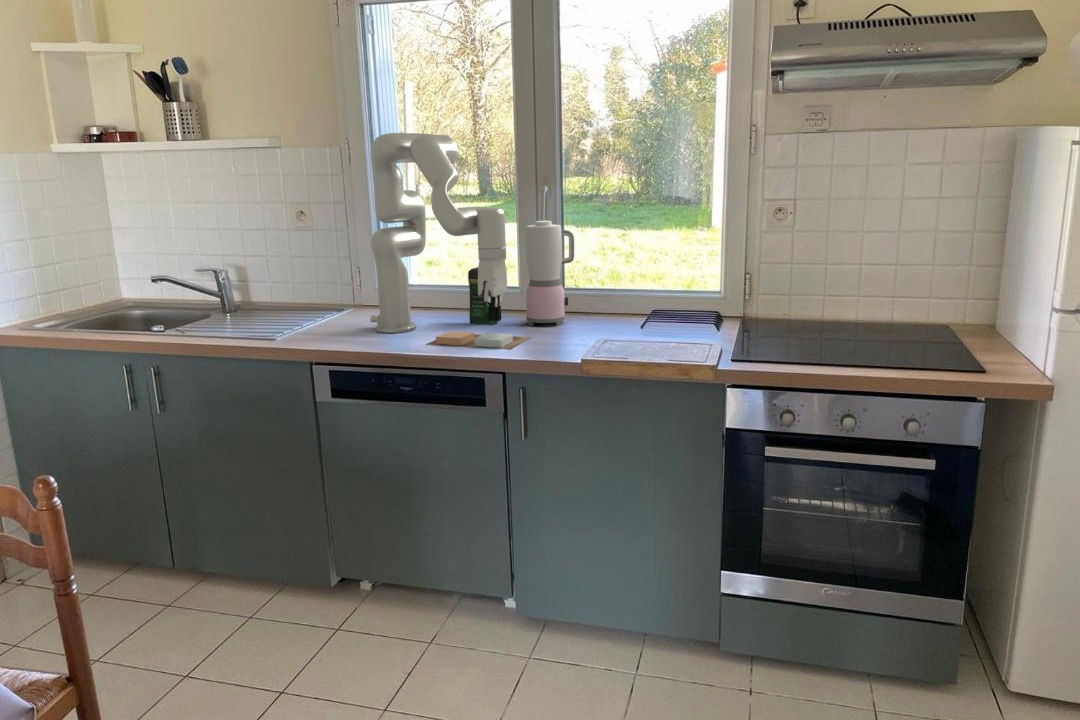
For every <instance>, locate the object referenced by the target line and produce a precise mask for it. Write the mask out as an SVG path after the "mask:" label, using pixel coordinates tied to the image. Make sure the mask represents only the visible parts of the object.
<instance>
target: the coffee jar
mask: <svg viewBox="0 0 1080 720" xmlns="http://www.w3.org/2000/svg"><path fill="white" fill-rule="evenodd" d="M467 282H468V287H469V324H470V325H482V326H483V325H484V326H485V325H487V326H492V325H495V324H498V322H499V321H489V317H488V306H487V302H484V296H482V297H480V296H479V295H478V266H477V267H474V268H470V269H469V270H468V272H467ZM490 295H491V294H490Z"/></svg>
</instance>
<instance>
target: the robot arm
mask: <svg viewBox="0 0 1080 720" xmlns="http://www.w3.org/2000/svg"><path fill="white" fill-rule="evenodd" d="M458 157H459V148H458V145H457V143H456V141H454V139H453V138H452V137H451V136H449V135H447V134H432V133H431V134H430V133H422V132H416V133H415V132H414V133H413V132H407V133H406V132H387V133H384V134H381V135H379V136H377V137H376V138H375V139H374V140H373V142H372V144H371V147H370V162H371V166H372V170H373V179H374V180H373V181H374V209H375V210H374V211H375V216H376V218H377V220H379V222H381V223H384V224H395V223H402V226H393V227H392V226H391V227H383V228H380V229H378V230H376V231H374V233H373V234H372V236H371V238H370V246H371V251H372V255H373V259H374V263H375V264H374V265H375V272H376V281H377V292H378V294H377V295H378V296H377V297H378V307H379V314H378V315H377V314H376V315H375V314H374V315H371V317H370V319H369V320H370V322H371V323H376V324H377V325H376V326H375V330H376V332H379V333H385V334H394V333H398V334H399V333H406V332H411V331H414V330H416V329H417V323H415V322H412V314H411V302H410V301H411V300H410V299H411V298H410V284H409V283H410V282H409V273H408V269H407V267H406V265H405V263H404V262H403V260H402V258H403V259H404V258H408V257H409V258H410V257H414V256H415V257H416V256H418V255H420V254H422V252H423V251H424V250H425V247H426V238H427V235H426V231H427V229H426V226H427V224H426V223H427V222H426V204H425V202H424V199H423V197H422V195H421V194H420V193H419V192H417V191H415V190H412V189H411V190H410V189H408V190H407V189H404V177H403V174H402V171H401V170H400V167H399V165H397V164H405V163H406V164H409V163H411V164H414V163H415V165H416V166H417V167H418V169H419V171H420V172H421V174H422V175H423V177H424V178H425V180H426V181H427V183H428V185H429V187H431V189H432V191H431V196H430V204H431V210H432V213H433V216H434V217H435V218H436V220H437V221H438V223H439V224H440V227H441V228H442V229H443V230H444V232H446V233H447V234H448V235H450V236H453V237H461V236H470V235H471V236H472V235H477V248H478V249H477V250H478V251H477V252H478V253H477V254H478V266H477V267H478V295H479V296H480V297H482V296H484V302H487V306H488V317H489V321H498V322H500V321H501V320H502V301H503V297H504V296H505V293H506V292H507V290H508V277H507V276H508V275H507V267H506V260H507V245H506V243H507V242H506V220H505V215H506V214H505V211H504V210H503V209H502V208H499V207H483V206H468V207H467V206H466V207H465V206H464V207H456V206H455V205H454V204H453V202H452V200H451V198H449V196H448V195H449V194H448V192H449V191H450V190H452V189H453V188H454V187H455V186H456V184H457V183H458V181H459V179H460V177H459V175H460V174H459V172H458V171H457V169H456V167H455V166H454V165H453V164H454V163H455V162H456V161H457V159H458ZM490 294H491V295H490Z"/></svg>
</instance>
